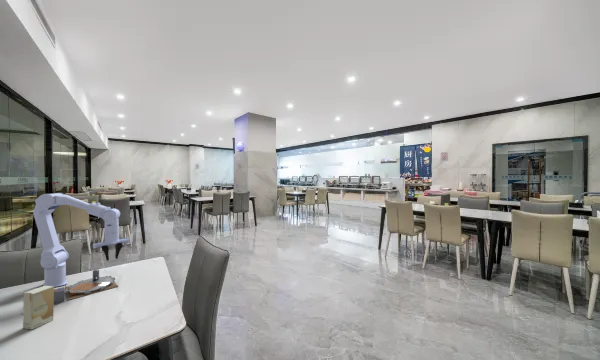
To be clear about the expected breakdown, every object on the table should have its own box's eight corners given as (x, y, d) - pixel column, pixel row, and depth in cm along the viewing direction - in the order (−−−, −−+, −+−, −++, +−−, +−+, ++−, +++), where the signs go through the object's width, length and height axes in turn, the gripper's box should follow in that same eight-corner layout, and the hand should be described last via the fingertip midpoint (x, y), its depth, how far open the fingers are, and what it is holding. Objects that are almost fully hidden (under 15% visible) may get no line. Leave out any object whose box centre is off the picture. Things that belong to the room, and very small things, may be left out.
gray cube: (43, 304, 97) (43, 291, 97) (64, 298, 102) (63, 286, 102) (43, 307, 95) (43, 295, 95) (64, 302, 99) (64, 289, 99)
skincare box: (31, 330, 80) (31, 294, 80) (22, 328, 81) (21, 293, 81) (55, 319, 87) (54, 285, 87) (45, 317, 88) (45, 284, 87)
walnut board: (65, 287, 112) (65, 286, 112) (110, 276, 125) (110, 275, 125) (67, 300, 100) (67, 299, 100) (118, 286, 113) (118, 286, 113)
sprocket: (64, 286, 112) (63, 274, 112) (111, 275, 125) (111, 264, 125) (66, 299, 100) (66, 286, 100) (118, 285, 113) (118, 273, 113)
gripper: (94, 236, 114) (94, 265, 114) (130, 231, 124) (131, 257, 124) (92, 234, 118) (92, 261, 119) (127, 229, 129) (127, 254, 129)
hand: (112, 259), depth 122 cm, fingers open, 3 cm apart
